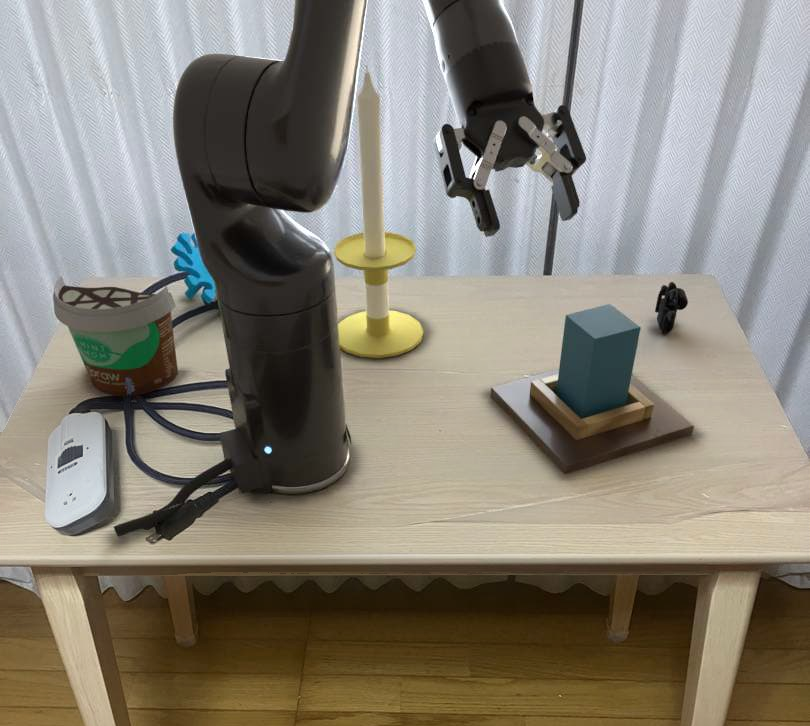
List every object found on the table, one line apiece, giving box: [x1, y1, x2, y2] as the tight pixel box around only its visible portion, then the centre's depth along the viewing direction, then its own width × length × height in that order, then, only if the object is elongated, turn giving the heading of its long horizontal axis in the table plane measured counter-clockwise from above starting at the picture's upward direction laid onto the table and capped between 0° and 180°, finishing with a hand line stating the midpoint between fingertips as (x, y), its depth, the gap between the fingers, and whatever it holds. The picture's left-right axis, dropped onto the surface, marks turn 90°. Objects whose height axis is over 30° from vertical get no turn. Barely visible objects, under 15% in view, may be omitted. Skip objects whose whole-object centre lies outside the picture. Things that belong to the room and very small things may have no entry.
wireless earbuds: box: [654, 281, 689, 336], centre depth 94 cm, size 7×2×5 cm, turn 176°
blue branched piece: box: [170, 231, 216, 304], centre depth 101 cm, size 11×6×10 cm
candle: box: [333, 64, 424, 359], centre depth 86 cm, size 10×10×27 cm
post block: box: [556, 303, 642, 419], centre depth 80 cm, size 5×5×9 cm
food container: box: [52, 276, 179, 397], centre depth 85 cm, size 12×6×10 cm, turn 77°
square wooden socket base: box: [490, 368, 695, 475], centre depth 83 cm, size 14×14×2 cm
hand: (532, 224), depth 83 cm, fingers open, 8 cm apart
